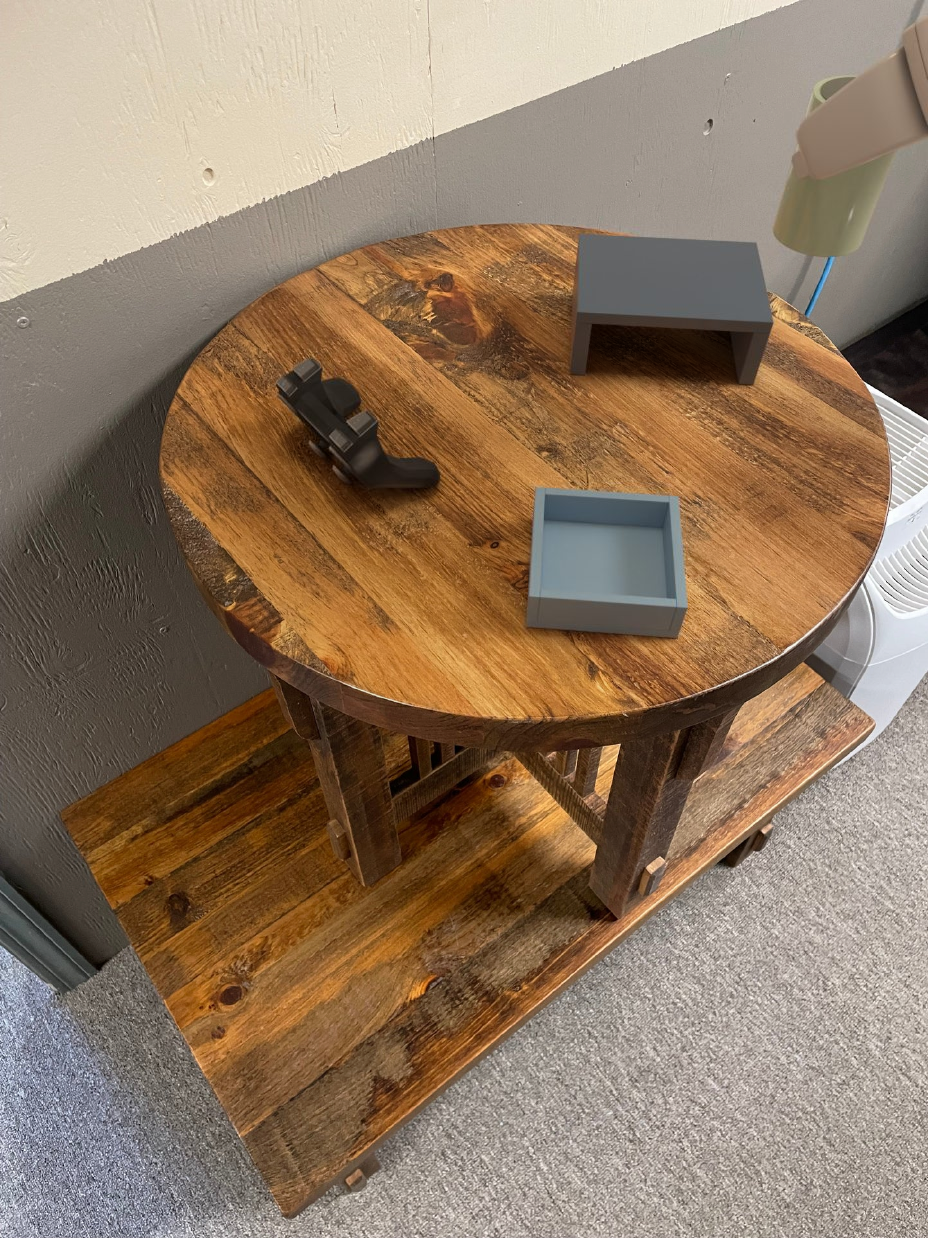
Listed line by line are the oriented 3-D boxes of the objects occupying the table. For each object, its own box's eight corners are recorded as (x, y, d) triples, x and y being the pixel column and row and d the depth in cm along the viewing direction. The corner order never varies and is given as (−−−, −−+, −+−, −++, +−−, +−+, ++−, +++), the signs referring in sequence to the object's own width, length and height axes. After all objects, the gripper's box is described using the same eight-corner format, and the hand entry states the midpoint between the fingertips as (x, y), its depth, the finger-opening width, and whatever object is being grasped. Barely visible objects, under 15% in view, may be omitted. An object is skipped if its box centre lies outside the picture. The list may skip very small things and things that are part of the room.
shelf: (739, 303, 93) (756, 242, 88) (753, 385, 85) (774, 322, 79) (572, 295, 94) (578, 233, 89) (569, 374, 86) (577, 311, 80)
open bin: (669, 528, 73) (678, 495, 70) (677, 638, 66) (688, 607, 63) (532, 518, 74) (535, 486, 71) (525, 627, 67) (528, 596, 64)
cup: (874, 228, 68) (928, 88, 60) (843, 267, 65) (896, 123, 57) (792, 203, 70) (833, 66, 63) (758, 239, 67) (798, 98, 59)
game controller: (302, 437, 84) (241, 380, 75) (352, 387, 83) (296, 323, 75) (397, 536, 76) (340, 485, 67) (452, 481, 76) (402, 422, 67)
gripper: (1109, -52, 54) (911, 71, 66) (906, 21, 46) (726, 144, 59) (1135, 52, 55) (936, 153, 67) (941, 139, 48) (758, 235, 60)
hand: (836, 150), depth 63 cm, fingers closed on cup, 7 cm apart
